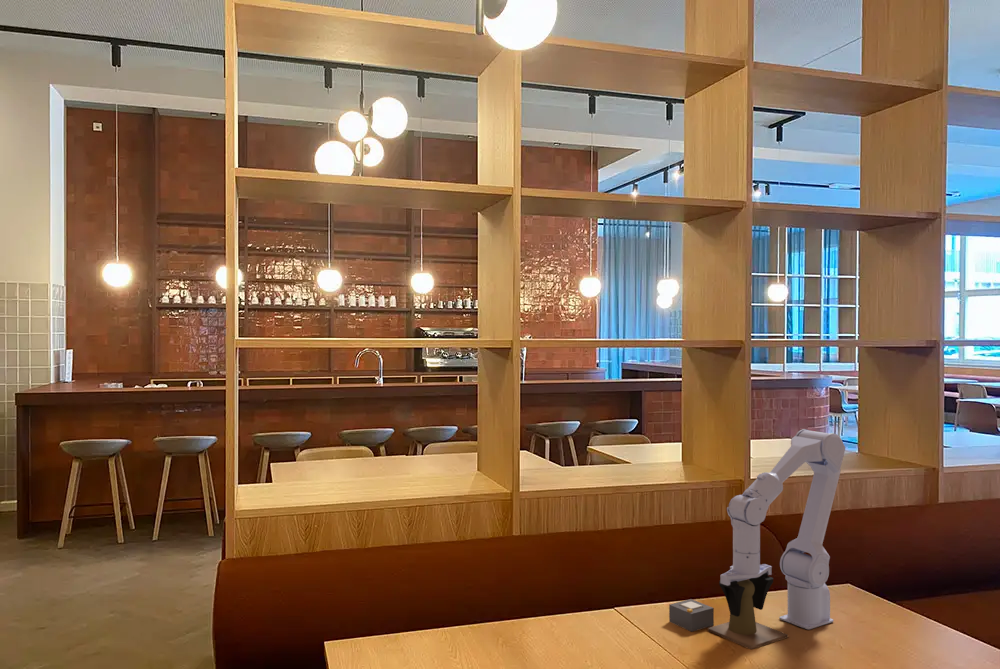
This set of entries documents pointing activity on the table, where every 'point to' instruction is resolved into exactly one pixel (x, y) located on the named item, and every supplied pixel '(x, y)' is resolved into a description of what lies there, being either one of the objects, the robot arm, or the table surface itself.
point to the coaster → (752, 640)
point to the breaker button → (691, 605)
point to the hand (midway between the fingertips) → (746, 611)
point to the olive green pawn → (744, 612)
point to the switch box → (691, 616)
